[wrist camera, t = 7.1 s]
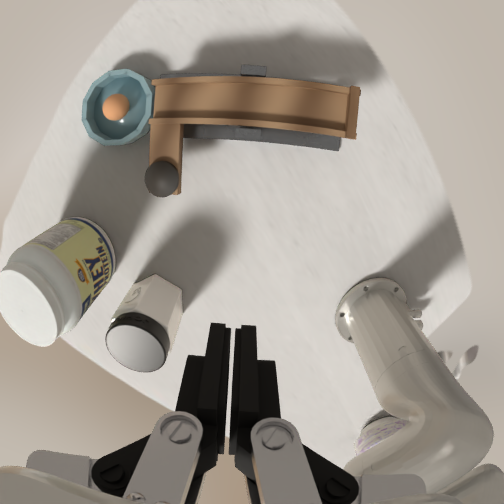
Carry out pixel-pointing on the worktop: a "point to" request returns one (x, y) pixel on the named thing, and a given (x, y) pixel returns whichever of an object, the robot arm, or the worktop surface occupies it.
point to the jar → (146, 324)
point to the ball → (116, 107)
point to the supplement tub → (55, 279)
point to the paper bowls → (377, 433)
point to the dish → (135, 119)
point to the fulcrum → (255, 132)
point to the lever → (240, 114)
